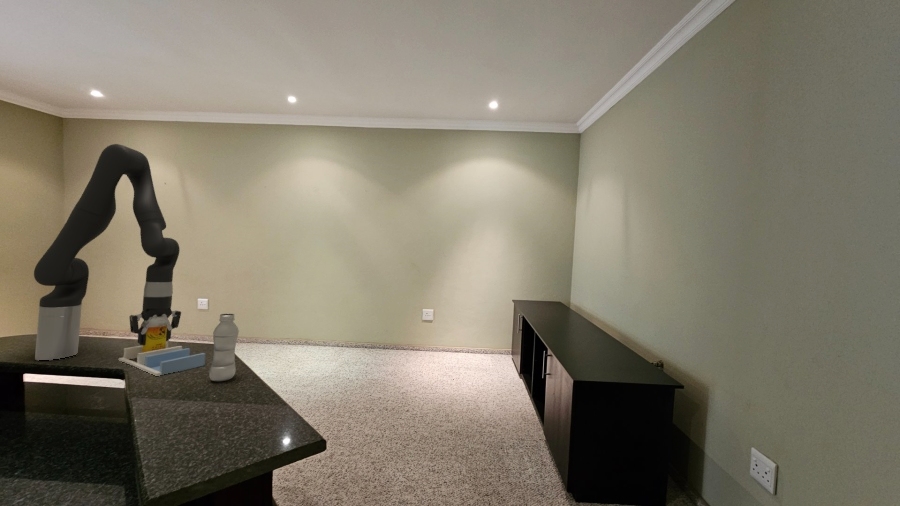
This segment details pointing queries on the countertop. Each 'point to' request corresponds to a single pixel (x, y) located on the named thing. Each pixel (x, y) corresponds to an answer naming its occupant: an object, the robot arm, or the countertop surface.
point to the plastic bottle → (224, 349)
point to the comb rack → (163, 359)
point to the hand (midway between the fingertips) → (154, 342)
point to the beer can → (155, 334)
